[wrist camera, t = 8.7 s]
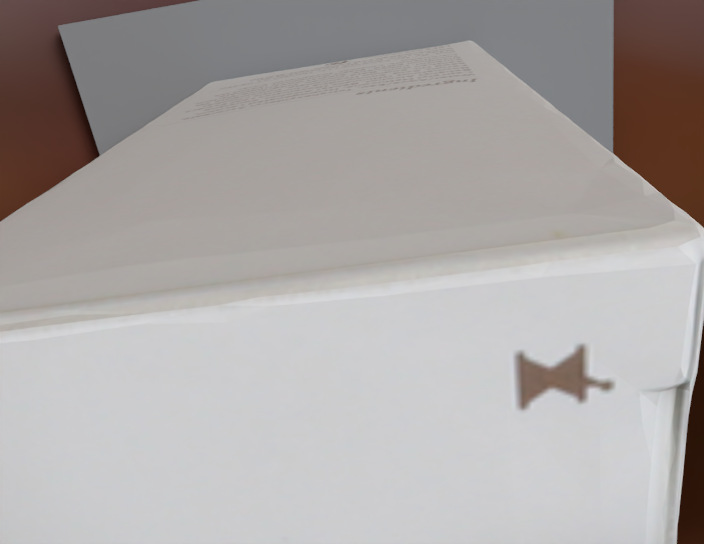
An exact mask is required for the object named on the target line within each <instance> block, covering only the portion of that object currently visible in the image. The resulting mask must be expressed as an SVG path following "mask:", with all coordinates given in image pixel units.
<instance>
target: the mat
mask: <svg viewBox="0 0 704 544" xmlns="http://www.w3.org/2000/svg"><path fill="white" fill-rule="evenodd" d="M58 28H59V31H60V34H61V37H62V41H63V44H64V47H65V50H66V53H67V56H68V59H69V62H70V65H71V68H72V71H73V74H74V77H75V80H76V84H77V87H78V90H79V93H80V96H81V99H82V102H83V105H84V108H85V111H86V114H87V117H88V120H89V124H90V127H91V130H92V133H93V136H94V139H95V142H96V145H97V148H98V151H99V154H100V155H102V154H103V153H105V152H106V151H108V150H109V149H111V148H112V147H114V146H115V145H117V144H118V143H120V142H121V141H123V140H124V139H126V138H127V137H129V136H130V135H132V134H133V133H135V132H137V131H138V130H140V129H141V128H143V127H144V126H145V125H147V124H148V123H150V122H151V121H153V120H155V119H156V118H158V117H159V116H161V115H162V114H164V113H165V112H167V111H168V110H170V109H171V108H172V107H174V106H175V105H177V104H178V103H180V102H181V101H183V100H184V99H186V98H188V97H189V96H191V95H193V94H194V93H196V92H197V91H199V90H200V89H202V88H203V87H204V86H206V85H207V84H209V83H211V82H215V81H221V80H227V79H233V78H239V77H245V76H251V75H257V74H263V73H270V72H276V71H283V70H289V69H295V68H302V67H308V66H315V65H321V64H327V63H333V62H339V61H346V60H352V59H358V58H364V57H371V56H377V55H384V54H390V53H397V52H403V51H410V50H416V49H423V48H429V47H436V46H442V45H448V44H453V43H458V42H464V41H469V40H470V41H473V42H475V43H476V44H477V45H478V46H480V47H481V48H482V49H483V50H484V51H486V52H487V53H488V54H490V55H491V56H492V57H493V58H495V59H496V60H497V61H498V62H499V63H501V64H502V65H503V66H505V67H506V68H507V69H508V70H509V71H511V72H512V73H513V74H514V75H515V76H517V77H518V78H519V79H521V80H522V81H523V82H524V83H526V84H527V85H528V86H529V87H531V88H532V89H533V90H534V91H536V92H537V93H538V94H539V95H540V96H542V97H543V98H544V99H545V100H546V101H548V102H549V103H550V104H552V105H553V106H554V107H555V108H556V109H557V110H558V111H560V112H561V113H563V114H564V115H565V116H566V117H568V118H569V119H570V120H571V121H572V122H574V123H575V124H576V125H577V126H579V127H580V128H581V129H582V130H584V131H585V132H586V133H587V134H589V135H590V136H591V137H592V138H594V139H595V140H596V141H597V142H599V143H600V144H601V145H602V146H604V147H605V148H606V149H608V150H609V151H610V152H612V153H613V0H199V1H194V2H188V3H183V4H177V5H171V6H166V7H160V8H155V9H149V10H143V11H138V12H132V13H127V14H121V15H115V16H110V17H104V18H99V19H93V20H87V21H82V22H76V23H71V24H65V25H60V26H58Z"/></svg>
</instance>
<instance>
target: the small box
mask: <svg viewBox="0 0 704 544" xmlns="http://www.w3.org/2000/svg"><path fill="white" fill-rule="evenodd" d="M703 321H704V228H703V227H702V226H701V225H700V224H699V223H697V222H696V221H695V220H694V219H693V218H692V217H690V216H689V215H688V214H687V213H686V212H684V211H683V210H682V209H680V208H679V207H677V206H676V205H674V204H673V203H672V202H670V201H669V200H668V199H667V198H666V197H664V196H663V195H662V194H661V193H660V192H659V191H657V190H656V189H655V188H654V187H653V186H652V185H650V184H649V183H648V182H647V181H646V180H644V179H643V178H642V177H641V176H640V175H639V174H637V173H636V172H635V171H633V170H632V169H631V168H629V167H628V166H627V165H625V164H624V163H623V162H622V161H621V160H620V159H619V158H618V157H616V156H615V155H614V154H613V153H612V152H610V151H609V150H608V149H606V148H605V147H604V146H602V145H601V144H600V143H599V142H597V141H596V140H595V139H594V138H592V137H591V136H590V135H589V134H587V133H586V132H585V131H584V130H582V129H581V128H580V127H579V126H577V125H576V124H575V123H574V122H572V121H571V120H570V119H569V118H568V117H566V116H565V115H564V114H563V113H561V112H560V111H558V110H557V109H556V108H555V107H554V106H553V105H552V104H550V103H549V102H548V101H546V100H545V99H544V98H543V97H542V96H540V95H539V94H538V93H537V92H536V91H534V90H533V89H532V88H531V87H529V86H528V85H527V84H526V83H524V82H523V81H522V80H521V79H519V78H518V77H517V76H515V75H514V74H513V73H512V72H511V71H509V70H508V69H507V68H506V67H505V66H503V65H502V64H501V63H499V62H498V61H497V60H496V59H495V58H493V57H492V56H491V55H490V54H488V53H487V52H486V51H484V50H483V49H482V48H481V47H480V46H478V45H477V44H476V43H475V42H473V41H470V40H469V41H464V42H458V43H453V44H448V45H442V46H436V47H429V48H423V49H416V50H410V51H403V52H397V53H390V54H384V55H377V56H371V57H364V58H358V59H352V60H346V61H339V62H333V63H327V64H321V65H315V66H308V67H302V68H295V69H289V70H283V71H276V72H270V73H263V74H257V75H251V76H245V77H239V78H233V79H227V80H221V81H215V82H211V83H209V84H207V85H206V86H204V87H203V88H202V89H200V90H199V91H197V92H196V93H194V94H193V95H191V96H189V97H188V98H186V99H184V100H183V101H181V102H180V103H178V104H177V105H175V106H174V107H172V108H171V109H170V110H168V111H167V112H165V113H164V114H162V115H161V116H159V117H158V118H156V119H155V120H153V121H151V122H150V123H148V124H147V125H145V126H144V127H143V128H141V129H140V130H138V131H137V132H135V133H133V134H132V135H130V136H129V137H127V138H126V139H124V140H123V141H121V142H120V143H118V144H117V145H115V146H114V147H112V148H111V149H109V150H108V151H106V152H105V153H103V154H102V155H100V156H99V157H98V158H96V159H95V160H93V161H92V162H90V163H89V164H88V165H86V166H84V167H83V168H81V169H80V170H78V171H76V172H75V173H73V174H72V175H70V176H69V177H68V178H66V179H65V180H63V181H62V182H60V183H59V184H57V185H56V186H54V187H53V188H52V189H50V190H49V191H47V192H45V193H44V194H42V195H40V196H39V197H37V198H35V199H34V200H32V201H31V202H29V203H27V204H26V205H24V206H23V207H21V208H20V209H18V210H17V211H15V212H14V213H12V214H11V215H9V216H8V217H6V218H5V219H4V220H2V221H1V222H0V544H677V525H678V518H679V509H680V499H681V489H682V479H683V469H684V458H685V447H686V436H687V426H688V416H689V409H690V403H691V396H692V392H693V388H694V384H695V380H696V376H697V370H698V362H699V354H700V345H701V337H702V329H703Z"/></svg>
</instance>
